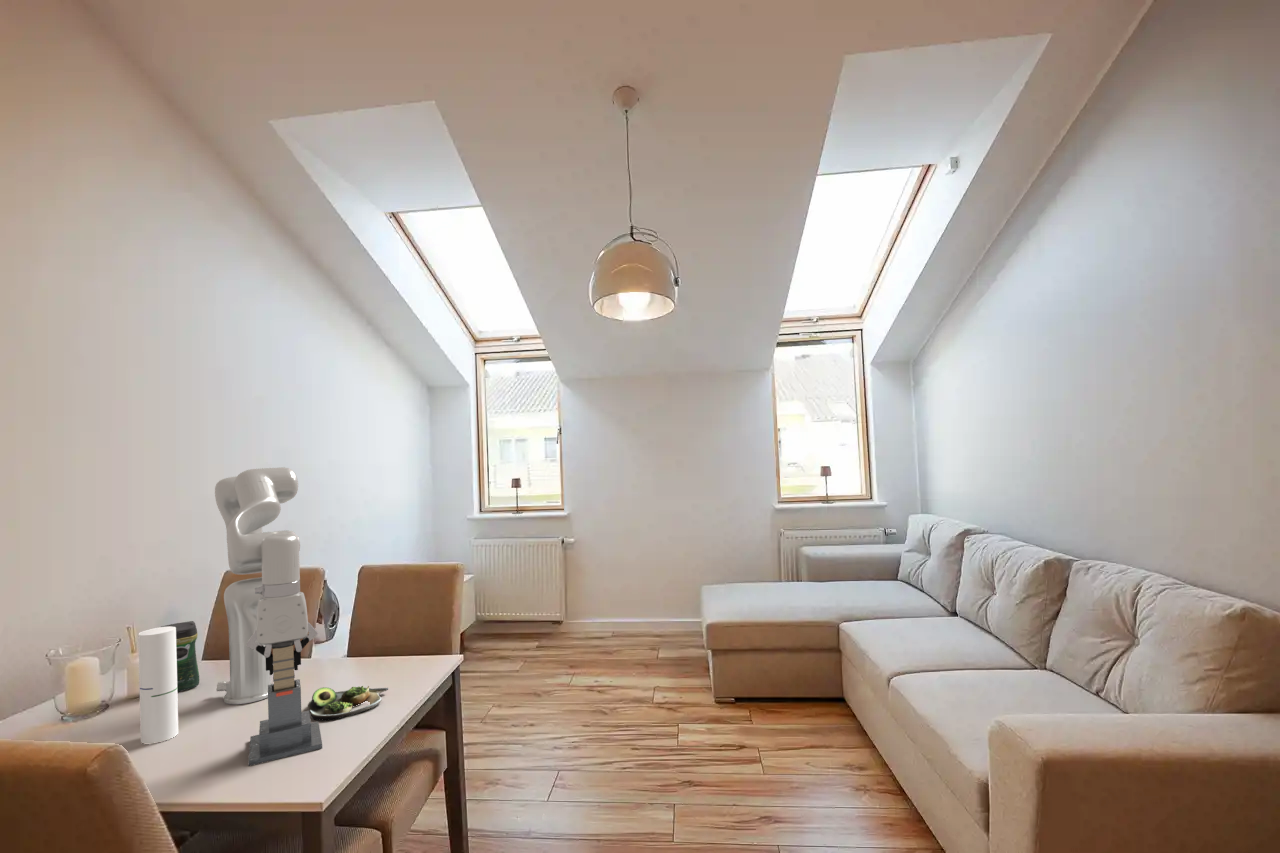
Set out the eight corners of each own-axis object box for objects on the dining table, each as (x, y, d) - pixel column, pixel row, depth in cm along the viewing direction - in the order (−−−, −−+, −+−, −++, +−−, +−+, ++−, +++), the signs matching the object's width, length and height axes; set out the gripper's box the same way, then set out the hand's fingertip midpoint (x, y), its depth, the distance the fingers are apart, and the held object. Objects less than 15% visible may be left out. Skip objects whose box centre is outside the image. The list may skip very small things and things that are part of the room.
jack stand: (248, 766, 137) (246, 703, 137) (250, 740, 149) (249, 683, 149) (322, 748, 144) (320, 689, 144) (318, 725, 156) (316, 671, 156)
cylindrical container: (153, 732, 156) (151, 627, 157) (185, 729, 157) (182, 625, 158) (133, 745, 149) (130, 636, 150) (166, 743, 150) (163, 634, 150)
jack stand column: (272, 744, 143) (269, 644, 144) (272, 735, 148) (269, 638, 148) (299, 738, 146) (296, 640, 146) (298, 730, 150) (295, 634, 151)
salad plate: (382, 686, 182) (381, 669, 182) (397, 706, 167) (396, 688, 167) (304, 703, 171) (304, 686, 171) (313, 727, 156) (312, 707, 156)
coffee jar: (198, 680, 191) (197, 617, 192) (200, 688, 185) (198, 622, 185) (157, 689, 185) (156, 624, 186) (158, 697, 179) (156, 629, 180)
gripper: (237, 598, 140) (239, 684, 139) (323, 587, 148) (326, 667, 148) (238, 592, 146) (240, 674, 146) (321, 581, 155) (323, 659, 154)
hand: (283, 670), depth 147 cm, fingers closed on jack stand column, 4 cm apart
